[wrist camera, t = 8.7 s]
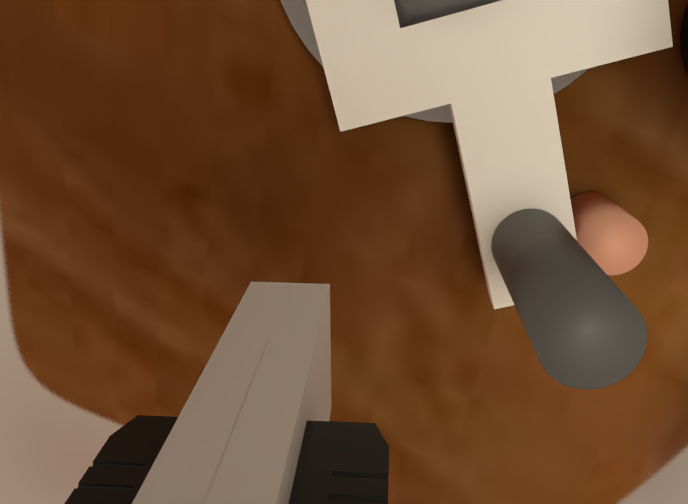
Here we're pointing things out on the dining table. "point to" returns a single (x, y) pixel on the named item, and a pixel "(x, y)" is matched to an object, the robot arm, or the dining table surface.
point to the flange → (506, 147)
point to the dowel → (608, 233)
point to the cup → (685, 40)
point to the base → (412, 8)
